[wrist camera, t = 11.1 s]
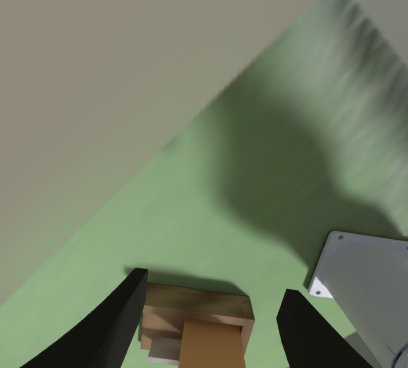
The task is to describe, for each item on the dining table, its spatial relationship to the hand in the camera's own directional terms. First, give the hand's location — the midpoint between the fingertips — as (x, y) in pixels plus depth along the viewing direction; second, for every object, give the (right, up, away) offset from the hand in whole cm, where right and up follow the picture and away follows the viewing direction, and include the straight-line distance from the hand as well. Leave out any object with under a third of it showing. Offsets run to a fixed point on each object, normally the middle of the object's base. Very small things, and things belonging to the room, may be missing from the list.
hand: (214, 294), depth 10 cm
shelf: (-2, -11, +14) cm, 18 cm away
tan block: (0, -11, +13) cm, 17 cm away
